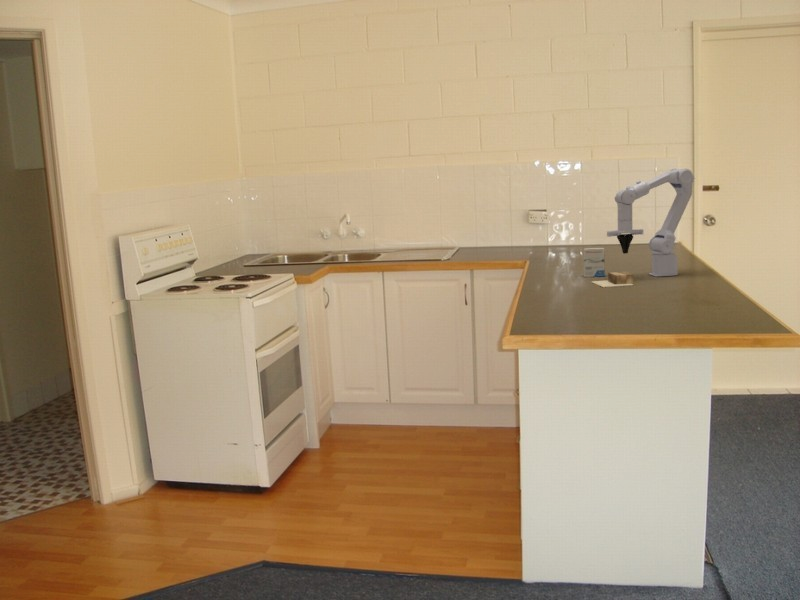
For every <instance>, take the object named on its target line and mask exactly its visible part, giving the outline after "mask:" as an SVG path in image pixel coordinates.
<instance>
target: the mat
mask: <svg viewBox="0 0 800 600" xmlns="http://www.w3.org/2000/svg"><path fill="white" fill-rule="evenodd" d="M590 283H592V284H594V285H596V286H598V287H600V286H601V288H605V287H606V288H616V287H617V288H618V287H633V286H634V283H629V284H613V283H611V282H608V279H607V280H593V281H591V282H590ZM606 288H605V289H606Z"/></svg>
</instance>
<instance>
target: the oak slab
mask: <svg viewBox="0 0 800 600" xmlns="http://www.w3.org/2000/svg"><path fill="white" fill-rule="evenodd" d="M607 277H608V278H607V280H608V282H611V283H613V284H629V283H631V284H634V275H633V273H630V272H628V271H618V272H617V271H615V272H608V274H607Z"/></svg>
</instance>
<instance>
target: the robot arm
mask: <svg viewBox="0 0 800 600" xmlns="http://www.w3.org/2000/svg"><path fill="white" fill-rule="evenodd" d="M694 180H695V175H694V174H693V172H692V170H691V169H689V168H683V169H682V168H672V169H670V170H666V171H665V172H663V173H661V174H659V175H658V176H655V177H654V178H652V179H650V180H648V181H643V180H642V181H641V180H638V181H636V183H635V184H633V185H631V186H626V188H625V189H621V190H618V191H617V193H616V194H615V196H614V200H615V202H616V204H617V230H610V231H606V237H616V238H617V240H618V242H619V244H620V248H621V251H622V254H628V253H629V248H630V246H631V243H632V241H633V240H634V235H635V236H636V235H638V236H639V235H641V236H642V235H644V229H642V228H641V229H633V204H634V203H635V201H636V200H638V199H641V198H642V197H644V196H647V195H648V194H649V193H650V191H651V190H653V189H654V188H657V187H659V186H662V185H664V184H666V183H669V184H670V186H671V187H672V188H673V189H674V190H675V193H676V195H675V197H674V199H673V202H672V203H671V206H670V208H669V210H668V212H667V215H666V217H665V220H664V221H663V224H662V225H661V227H660V229H659V230H658V231H657V232H656V233H654V235H653V237H651V238H650V240H649V243H648V247H649V249H650V251H651V254H652V255H651V256H652V257H651V266H652V267H651V269H652V271H651V272H649V273H648V275H649V276H653V277H656V278H657V277H669V276H671V277H672V276H679V274H678V256H677V254H676V253H673V251H674V247H675V241H676V239H677V238H676V236H675V232H676V230H677V229H678V226H679V223H680V222H681V219H682V217H683V215H684V213H685V211H686V209H687V206H688V204H689V202H690V200H691V197H692V195H693V183H694Z"/></svg>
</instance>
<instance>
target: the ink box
mask: <svg viewBox="0 0 800 600" xmlns="http://www.w3.org/2000/svg"><path fill="white" fill-rule="evenodd" d="M605 264H606V263H605V247H589V248H588V247H587V248H583V277H584V278H592V277H595V278H596V277H598V278H599V277H601V278H603V277H605V276H606V275H605V270H606V269H605V266H606V265H605Z"/></svg>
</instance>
